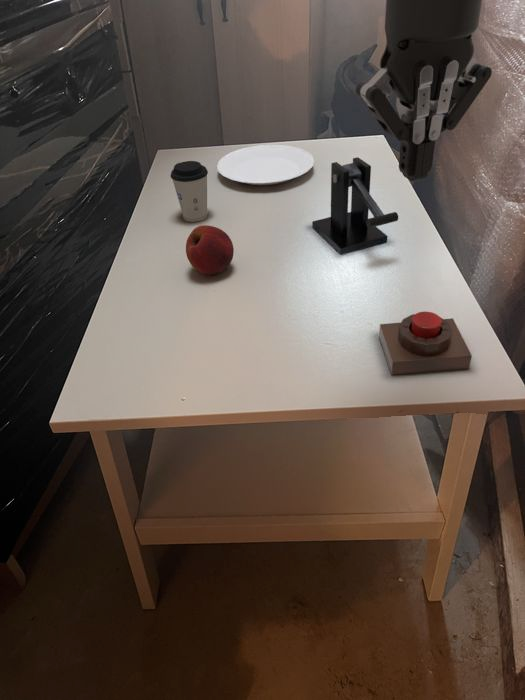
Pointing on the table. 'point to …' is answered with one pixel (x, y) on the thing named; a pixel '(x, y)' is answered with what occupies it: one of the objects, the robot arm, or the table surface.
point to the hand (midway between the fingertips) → (414, 177)
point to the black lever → (368, 199)
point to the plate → (265, 164)
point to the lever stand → (348, 213)
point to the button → (426, 325)
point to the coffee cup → (191, 189)
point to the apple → (209, 249)
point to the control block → (423, 348)
